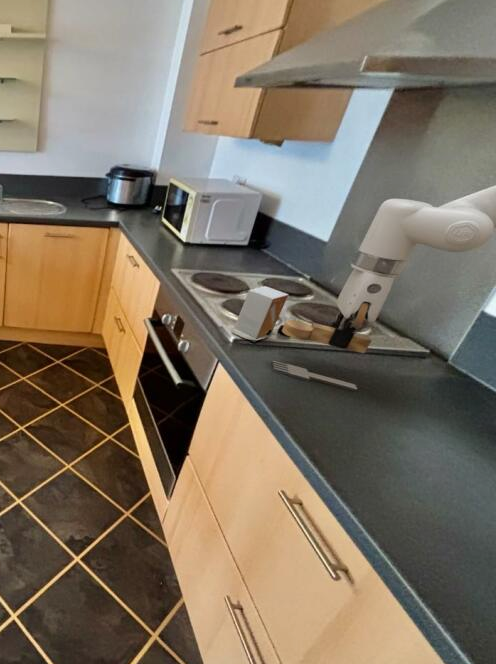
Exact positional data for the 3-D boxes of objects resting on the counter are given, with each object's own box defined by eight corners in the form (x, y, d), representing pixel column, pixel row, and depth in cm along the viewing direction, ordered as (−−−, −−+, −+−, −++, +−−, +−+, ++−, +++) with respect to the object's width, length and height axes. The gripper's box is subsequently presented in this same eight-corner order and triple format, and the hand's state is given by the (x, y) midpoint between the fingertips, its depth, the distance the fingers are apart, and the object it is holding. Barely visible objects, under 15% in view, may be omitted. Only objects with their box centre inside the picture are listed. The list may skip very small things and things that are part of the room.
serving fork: (352, 384, 94) (354, 381, 94) (357, 395, 90) (359, 392, 90) (271, 362, 100) (272, 359, 100) (272, 371, 97) (274, 368, 96)
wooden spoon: (359, 346, 91) (366, 333, 89) (365, 356, 87) (373, 343, 85) (280, 326, 97) (286, 314, 95) (282, 335, 93) (288, 322, 91)
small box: (254, 344, 109) (273, 298, 103) (231, 333, 113) (248, 289, 107) (270, 338, 113) (289, 294, 107) (247, 327, 117) (264, 285, 111)
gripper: (416, 279, 74) (366, 365, 83) (389, 257, 87) (348, 333, 96) (364, 270, 77) (321, 353, 86) (345, 250, 90) (309, 324, 99)
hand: (335, 342), depth 91 cm, fingers closed on wooden spoon, 2 cm apart
